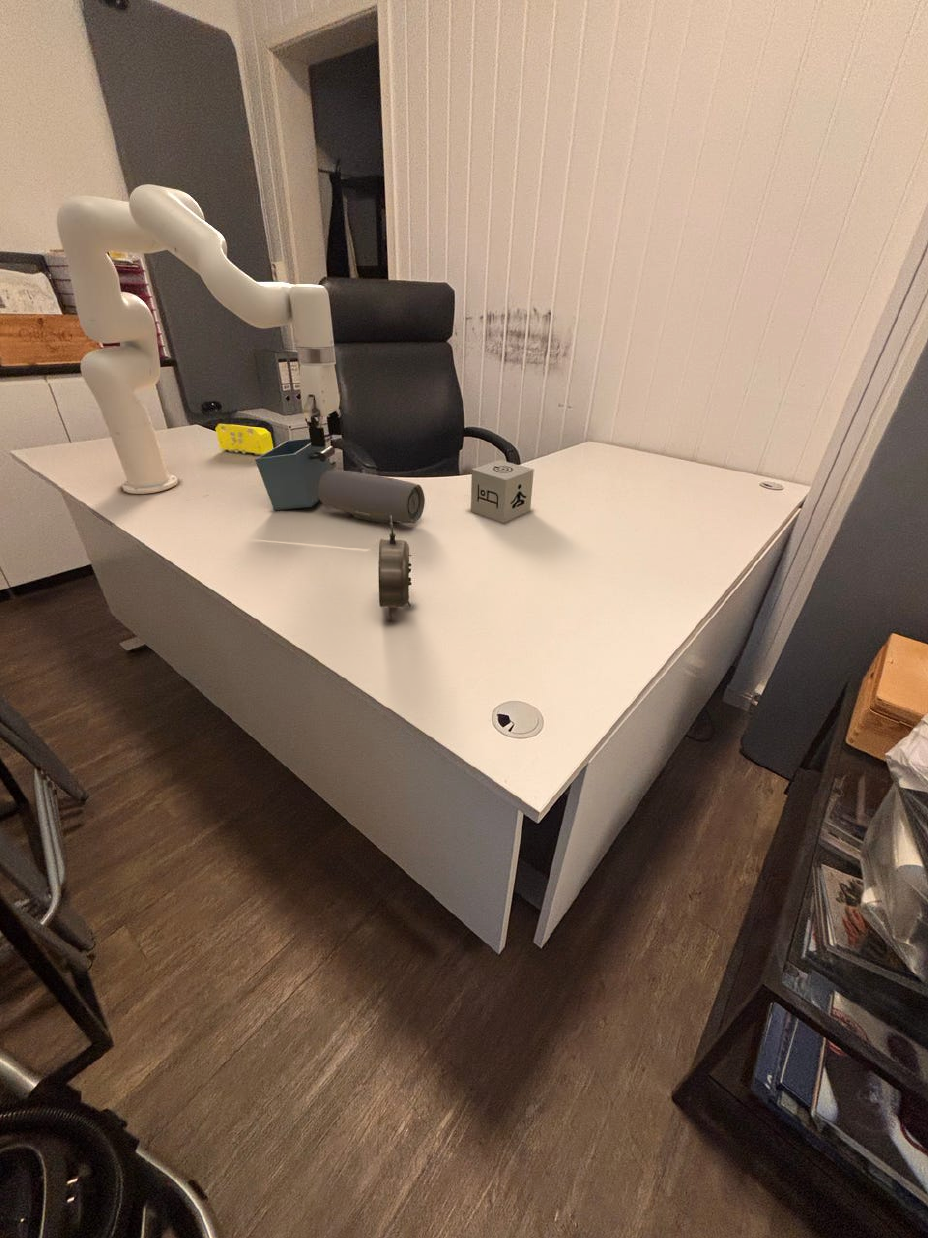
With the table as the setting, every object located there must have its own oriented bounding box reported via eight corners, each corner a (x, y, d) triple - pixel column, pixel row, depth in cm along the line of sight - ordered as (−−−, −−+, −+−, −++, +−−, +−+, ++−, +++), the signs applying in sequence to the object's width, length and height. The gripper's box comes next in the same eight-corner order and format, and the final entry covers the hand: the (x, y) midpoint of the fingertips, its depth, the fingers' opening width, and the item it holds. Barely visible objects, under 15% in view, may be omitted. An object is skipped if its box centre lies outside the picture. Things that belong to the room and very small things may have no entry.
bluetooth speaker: (426, 519, 116) (425, 476, 110) (406, 535, 109) (404, 489, 103) (344, 503, 123) (338, 462, 118) (320, 516, 116) (313, 473, 111)
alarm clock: (383, 590, 90) (375, 503, 80) (413, 589, 90) (409, 502, 81) (380, 626, 81) (370, 532, 71) (414, 625, 81) (409, 531, 72)
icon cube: (470, 511, 120) (471, 469, 114) (497, 500, 126) (499, 459, 120) (503, 523, 114) (506, 479, 109) (530, 510, 121) (533, 469, 115)
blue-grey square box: (254, 459, 112) (313, 451, 109) (285, 440, 124) (339, 433, 121) (273, 510, 119) (330, 504, 115) (301, 488, 131) (353, 482, 127)
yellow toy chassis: (220, 451, 157) (212, 423, 152) (232, 446, 161) (225, 419, 157) (263, 457, 153) (257, 428, 148) (274, 451, 157) (269, 423, 153)
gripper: (316, 349, 113) (326, 429, 122) (280, 360, 98) (294, 449, 108) (348, 351, 112) (356, 431, 121) (316, 362, 97) (328, 452, 107)
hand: (327, 440), depth 115 cm, fingers open, 9 cm apart
